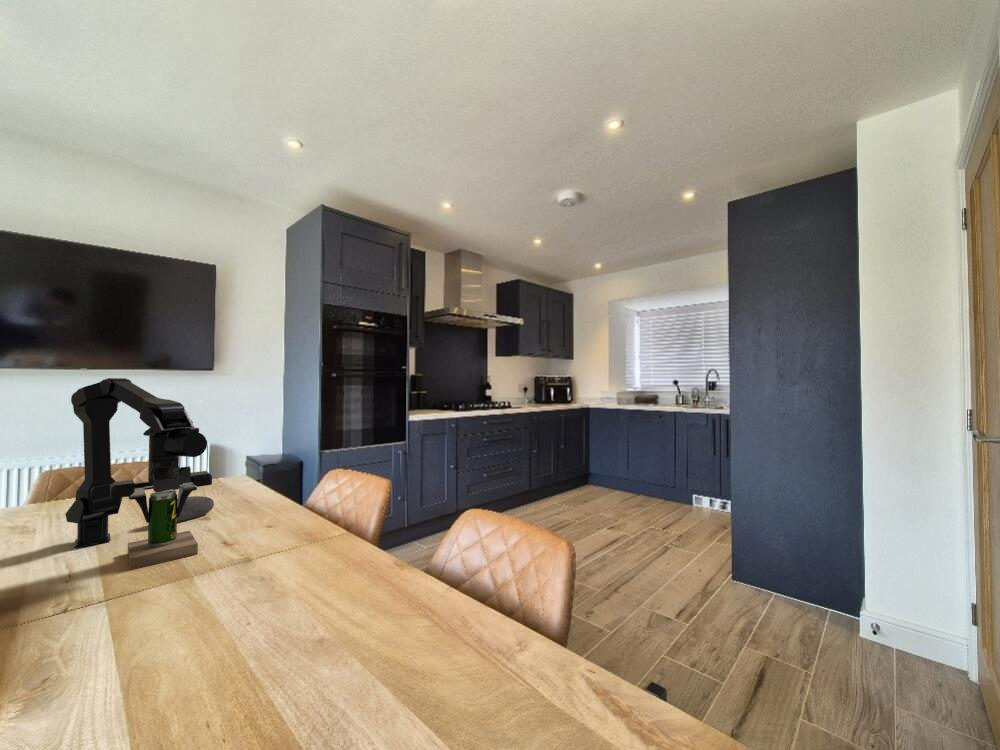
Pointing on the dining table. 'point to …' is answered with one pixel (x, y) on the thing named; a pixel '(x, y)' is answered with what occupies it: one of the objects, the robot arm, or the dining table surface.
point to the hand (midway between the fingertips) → (162, 519)
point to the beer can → (162, 518)
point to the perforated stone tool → (195, 507)
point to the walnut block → (161, 551)
